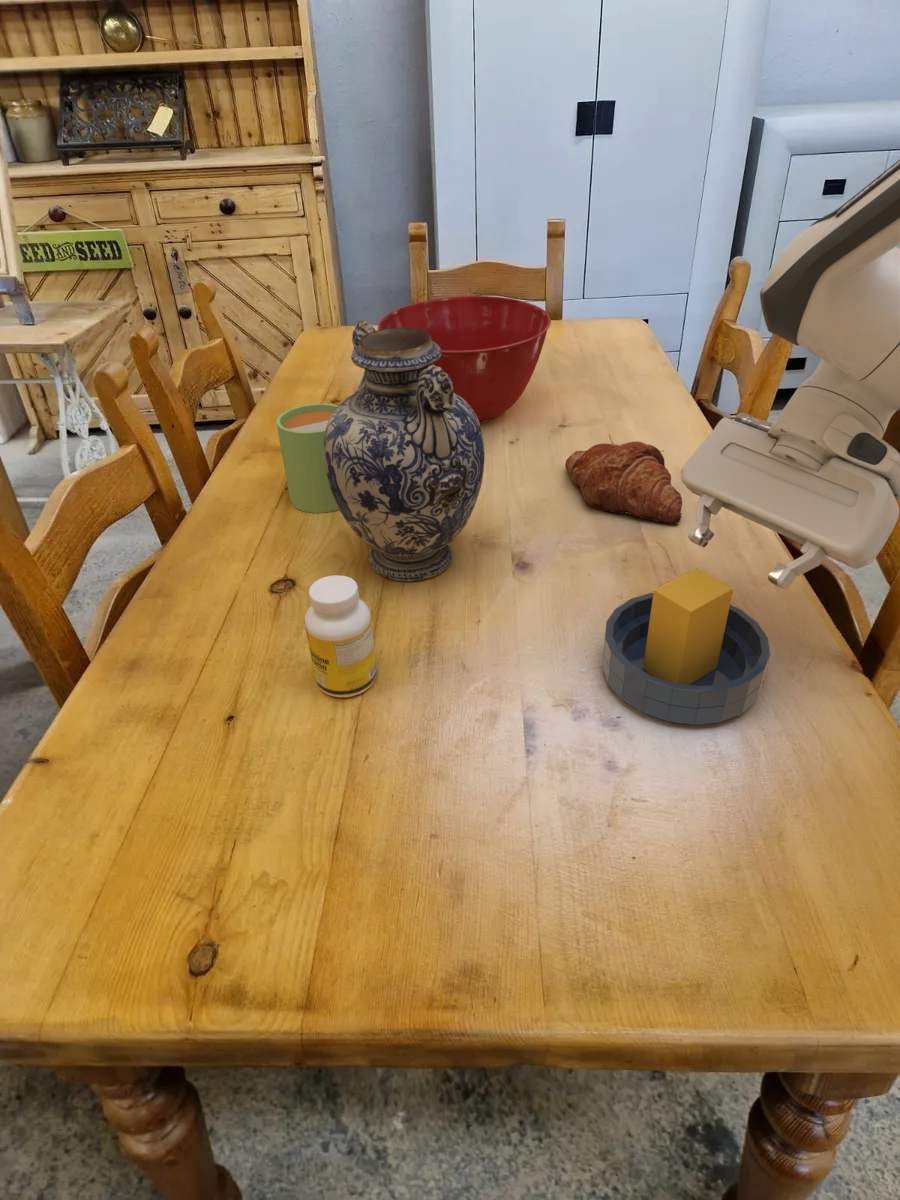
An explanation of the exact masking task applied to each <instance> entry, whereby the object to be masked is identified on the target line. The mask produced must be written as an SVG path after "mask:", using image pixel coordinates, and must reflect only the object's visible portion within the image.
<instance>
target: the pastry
mask: <svg viewBox="0 0 900 1200" xmlns="http://www.w3.org/2000/svg"><path fill="white" fill-rule="evenodd" d="M564 465H565V466H564V467H565V470H566V473H567V474H568V476H569V477H570V478H571V479H572V482H573V483H574V485H575V487H576V488H578V489H579V490H581V494H582V496H583V499H584V500H585V503H586V504H588V505H589V506H591V507H592V508H595V509H598V510H601V511H605V512H611V513H614V514H629V515H631V516H633V517H635V518H643V519H647V520H650V521H656V522H658V523H660V524H669V525H673V524H674V525H675V524H679V523H680V522H681V519H682V507H683V498H682V495H681V493H680V492H679V491H678V490H677V489H676V488H675V487H674V486H673V485H672V475H671V473H670V470H668V468H667V467H666V463H665V458H664V454H662V452H661V450H660V449H658V447H656V446H655V445H652V444H649V443H648V444H647V443H645V442H642V441H638V440H637V441H630V442H629V441H628V442H626V443H622V444H616V443H605V442H603V443H598V444H594V445H592V446H591V447H590V448H588V449H586V450H575V451H574V452H573V453H572V454H571V455H569V457H568V458H567V459H566V460H565V464H564Z"/></svg>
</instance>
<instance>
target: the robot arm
mask: <svg viewBox="0 0 900 1200" xmlns="http://www.w3.org/2000/svg"><path fill="white" fill-rule="evenodd" d="M898 246H900V159H898V160H897V161H895V162H894V163H893V164H892V165H891V166H889V168H887V169H886V170H884V171H883V172H882V173H880V174H879V175H878V176H877V177H876V178H874V179H873V180H872V181H871V182H870V183H868V184H866V186H865V187H864V188H862V189H861V190H859V191H858V192H857V193H856V194H855V195H853V196H852V197H851V198H850V199H848V200H847V201H846V202H845V203H843V204H842V205H840V206H839V207H838V208H837V209H835V210H834V211H832V212H830V213H828V214H826V215H824V216H822V217H820V218H818V219H817V220H815V221H814V222H813V223H812V224H811V225H809V227H807V228H806V229H804V230H803V231H802V232H800V233H799V234H797V236H795V237H794V238H793V239H792V240H791V241H790V242H789V243H788V244H787V245H786V246H785V248H784V249H782V251H781V252H780V254H779V255H778V257H776V259H775V261H774V262H773V264H772V266H771V267H770V269H769V271H768V273H767V274H766V277H765V279H764V282H763V285H762V288H761V289H760V292H759V299H760V306H761V312H762V316H763V319H764V323H765V326H766V329H767V331H768V332H769V333H771V334H773V335H775V336H777V337H779V338H781V339H783V340H785V341H787V342H789V343H791V344H792V345H794V346H797V347H802V348H803V349H805V350H807V351H808V352H810V353H811V354H813V355H815V356H817V357H818V358H819V362H818V364H817V366H816V367H815V370H814V371H813V372H812V374H811V375H810V376H809V377H808V378H807V379H806V380H803V382H802V383H801V384H800V385H799V386H798V387H797V388H796V390H795V391H794V393H793V395H792V396H791V397H790V399H789V400H788V401H787V403H786V405H785V406H784V407H783V409H782V411H781V412H780V413H779V415H778V416H777V417H776V418H775V420H774V422H770V421H768V420H765V419H761V418H756V417H754V416H753V415H751V414H749V413H746V412H739V413H738V414H732V415H729V416H726V417H723V418H721V419H720V420H719V421H718V422H717V424H716V425H715V427H714V428H713V430H712V431H711V433H710V434H709V435H708V436H707V437H706V438H705V440H704V441H703V442H702V443H701V444H700V445H699V446H698V447H697V448H696V450H695V451H694V452H693V453H692V454H691V456H690V457H689V458H688V460H687V461H686V462H685V463H684V465H683V466H682V468H681V471H680V474H681V475H680V477H681V479H680V480H681V483H683V485H684V486H685V487H686V488H687V489H688V490H689V491H690V492H691V493H693V494H694V495H696V496H698V497H699V499H698V501H697V503H696V513H695V514H696V515H695V523H694V524H693V526H692V527H691V529H690V531H689V532H688V534H687V539H688V540H689V541H691V543H693V544H695V545H697V546H699V547H701V548H706V547H707V546H708V544H709V541H711V540H712V539H713V538H714V536H715V533H714V532H713V530H711V529H710V523H711V517H712V515H713V516H717V515H718V514H719V512H720V511H721V509H722V508H724V509H726V510H728V511H730V512H732V513H735V514H737V515H739V516H741V517H743V518H746V519H747V520H749V521H751V522H754V523H756V524H758V525H760V526H762V527H765V528H766V529H769V530H771V531H774V532H775V533H777V534H779V535H782V536H784V537H786V538H788V539H791V540H792V541H795V542H796V543H799V544H801V545H802V547H801V548H800V552H801V553H802V555H801V556H799V557H797V558H795V559H794V560H792V561H790V562H789V563H787V564H783V563H781V562H780V561H779V562H778V561H777V563H775V565H774V566H773V570H772V571H770V573H769V574H768V576H767V580H768V581H769V582H770V584H772V585H774V586H776V587H778V588H779V589H781V590H784V591H786V590H788V589H789V588H790V586H791V585H792V583H793V582H794V581H795V579H796V578H797V576H798V577H799V576H801V575H803V574H805V573H808V572H809V571H811V570H813V569H815V568H817V567H819V566H821V564H822V562H823V561H824V560H825V558H826V557H828V558H830V559H833V560H835V561H838V562H840V563H842V564H844V565H846V566H848V567H850V568H852V569H856V570H857V569H861V568H864V567H865V566H868V565H871V564H872V563H873V562H874V561H875V559H876V558H877V557H878V555H879V554H880V552H881V551H882V549H883V548H884V546H885V545H886V543H887V541H888V539H889V537H890V536H891V535H892V532H893V531H894V527H895V526H896V525H897V522H898V520H899V516H900V505H899V504H898V501H900V452H899V451H898V450H897V449H896V448H895V447H893V446H892V445H890V444H889V443H888V442H886V440H884V439H883V437H884V435H885V433H886V430H887V428H888V425H889V423H890V421H891V418H892V417H893V415H894V414H895V413H896V412H897V411H900V248H899V247H898Z"/></svg>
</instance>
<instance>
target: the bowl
mask: <svg viewBox="0 0 900 1200" xmlns="http://www.w3.org/2000/svg"><path fill="white" fill-rule="evenodd" d="M653 593H654V592H649V593H645V594H642V595H638V596H636V597H632V598H630V599H628V600H627V601H625V602H623V603H622V604H620V605H619V606H617V607H616V608H615V609H614V610H613V612H612V613H611V614H610V616H609V617H608V619H607V620H606V624H605V633H604V642H603V652H602V653H603V654H602V663H601V669H602V672H603V675H604V678H605V680H606V682H607V685H608V686H609V687H610V688H611V689H612V690H613V691H614V693H616V695H617V696H618V697H619V698H620V699H621V700H622V701H624V702H625V703H627V704H628V705H630V706H632V707H633V708H635V709H636V710H638V711H639V712H641V713H643V714H645V715H648V716H651V717H654V718H658V719H660V720H663V721H666V722H672V723H679V724H680V723H681V724H687V725H695V726H696V725H707V724H715V723H716V724H717V723H723V722H724V721H727V720H731V719H732V718H735V717H738V716H741V715H742V714H744V713H745V712H746V711H747V710H749V709H750V707H752V706H753V705H754V704H755V703H756V702H757V700H758V698H759V695H760V693H761V690H762V688H763V685H764V681H765V677H766V673H767V669H768V666H769V662H770V658H771V648H770V642H769V637H768V636H767V634H766V633H765V632H764V630H763V629H762V627H761V626H760V624H759V623H758V622H757V621H756V620H755V619H754V618H753V617H751V616H750V615H748V614H747V612H745V611H744V610H742V609H741V608H739V607H737V606H734V605H733V604H731V603H730V607H729V612H728V617H727V622H726V626H725V631H724V636H723V640H722V645H721V650H720V655H719V659H718V664H717V668H716V669H715V670H713V671H711V672H710V673H708V674H706V675H705V676H703V677H701V678H700V679H698V680H697V681H695V682H693V683H692V684H690V685H686V684H678V683H672V682H669V681H666V680H663V679H660V678H657V677H654V676H652V675H651V674H649V673H648V672H646V671H645V670H643V665H644V658H645V651H646V643H647V636H648V629H649V622H650V615H651V608H652V600H653Z"/></svg>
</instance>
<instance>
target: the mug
mask: <svg viewBox="0 0 900 1200" xmlns="http://www.w3.org/2000/svg"><path fill="white" fill-rule="evenodd" d="M338 405H339V404H333V403H311V404H310V403H309V404H302V405H299V406H295V407H292V408H290V409H287V410H285V411H283V412H282V413H281V414H279V415H278V417H277V418H276V420H275V421H276V422H275V423H276V429H277V434H278V439H279V441H278V442H279V446H280V451H281V457H282V463H283V468H284V474H285V480H286V486H287V490H288V491H287V492H288V497H289V501H290V504H291V505H292V507H293V508H296V509H297V510H299V511H301V512H306V513H311V514H323V513H324V514H325V513H333V512H336V511H340V509H339V507H338V505H337V503H336V501H335V499H334V497H333V494H332V491H331V488H330V485H329V482H328V478H327V473H326V468H325V461H324V435H325V430H326V426H327V423H328V421H329V419H330V417H331V415H332V413H333V412H334V410H335V409H336V408H337V406H338Z"/></svg>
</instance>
